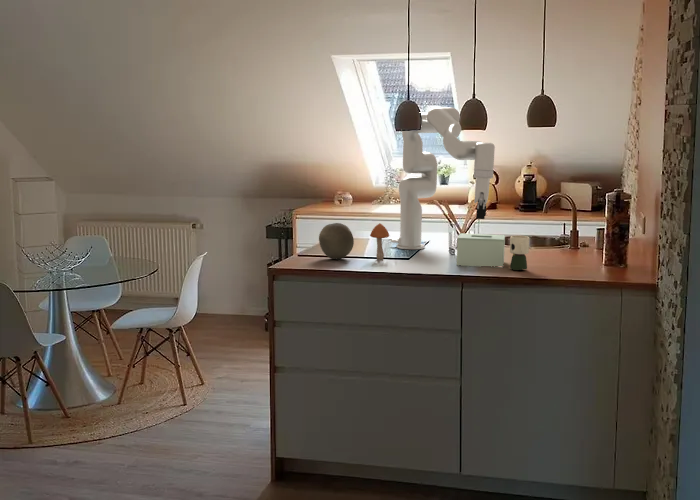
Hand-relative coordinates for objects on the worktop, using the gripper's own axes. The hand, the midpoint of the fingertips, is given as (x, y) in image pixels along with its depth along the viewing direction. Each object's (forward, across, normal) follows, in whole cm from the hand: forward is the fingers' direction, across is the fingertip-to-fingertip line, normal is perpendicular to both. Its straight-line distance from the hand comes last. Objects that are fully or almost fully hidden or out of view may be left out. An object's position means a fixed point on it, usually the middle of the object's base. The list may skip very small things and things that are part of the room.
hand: (481, 217), depth 320 cm
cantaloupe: (+20, +7, -57) cm, 61 cm away
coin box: (+19, +1, +1) cm, 19 cm away
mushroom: (+20, +2, -40) cm, 45 cm away
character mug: (+18, +12, +16) cm, 27 cm away
